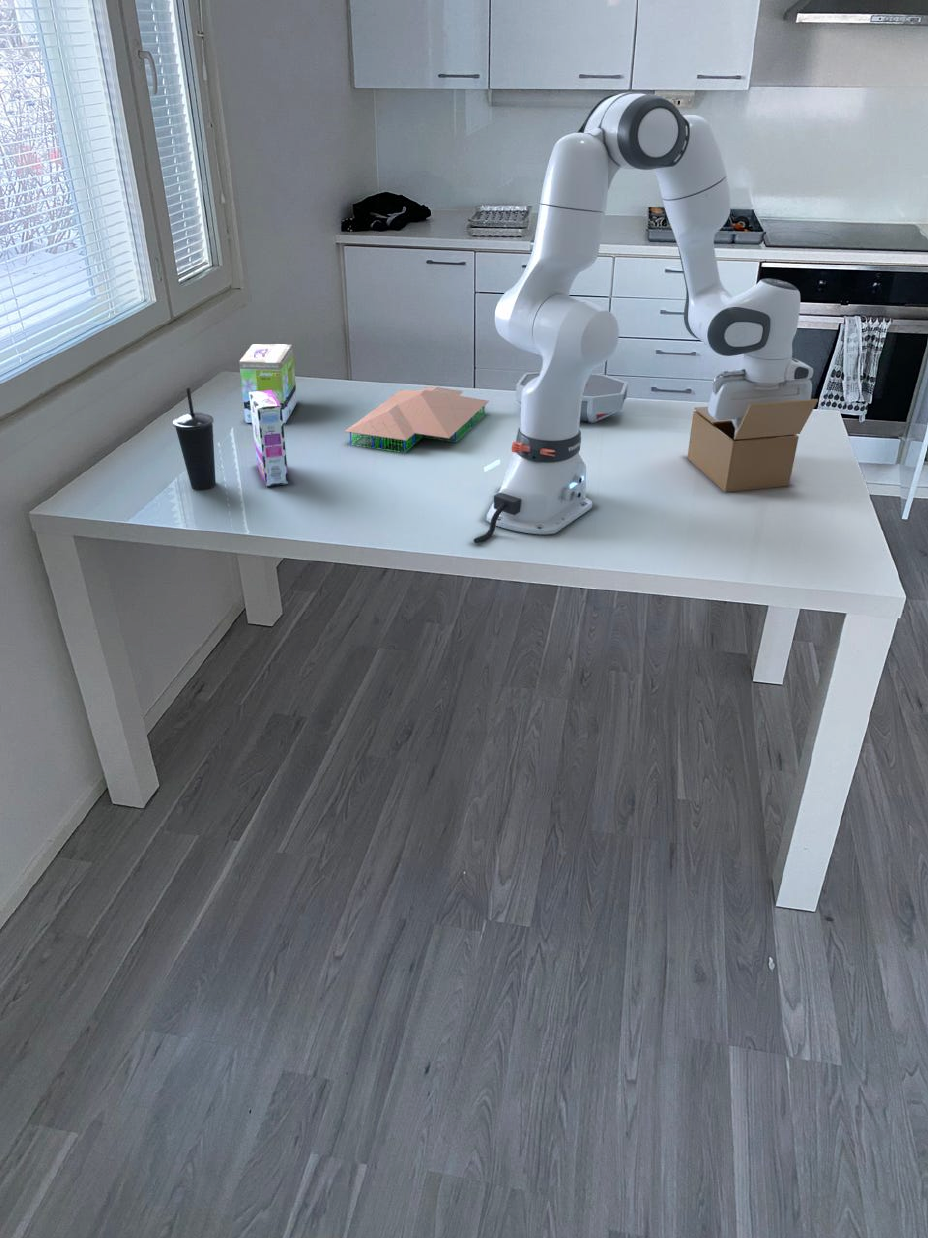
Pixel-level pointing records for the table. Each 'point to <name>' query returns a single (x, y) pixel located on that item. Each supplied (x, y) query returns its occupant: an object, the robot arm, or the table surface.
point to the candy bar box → (269, 437)
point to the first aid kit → (592, 395)
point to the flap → (775, 419)
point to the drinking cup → (197, 446)
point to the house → (419, 416)
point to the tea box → (269, 375)
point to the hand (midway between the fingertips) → (753, 436)
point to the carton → (739, 455)
